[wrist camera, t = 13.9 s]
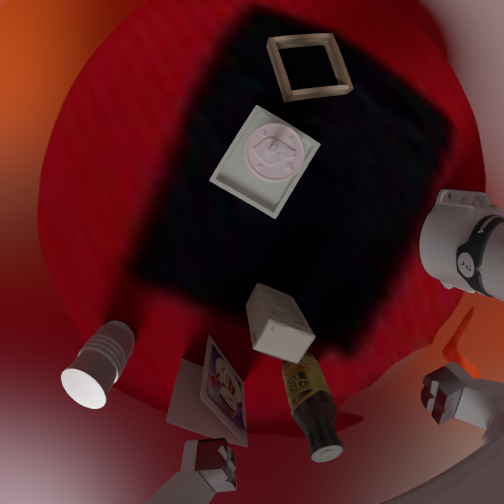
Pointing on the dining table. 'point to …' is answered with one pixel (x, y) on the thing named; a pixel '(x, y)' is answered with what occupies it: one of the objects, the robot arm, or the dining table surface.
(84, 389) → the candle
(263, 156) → the smoothie
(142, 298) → the dining table surface
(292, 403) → the sauce bottle
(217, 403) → the greeting card
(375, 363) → the dining table surface
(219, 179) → the tray
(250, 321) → the skincare box
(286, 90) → the frame
